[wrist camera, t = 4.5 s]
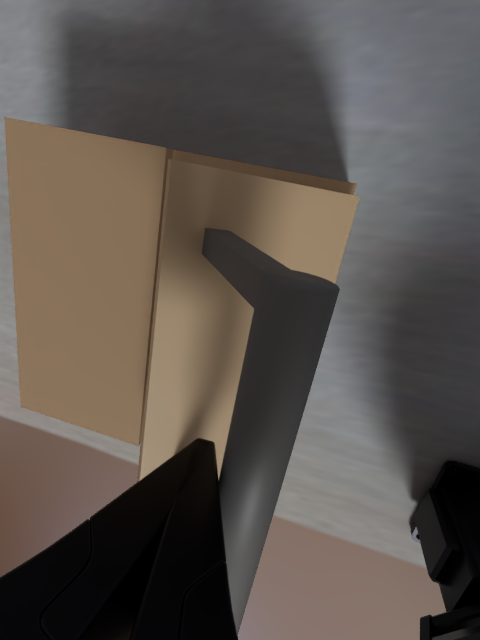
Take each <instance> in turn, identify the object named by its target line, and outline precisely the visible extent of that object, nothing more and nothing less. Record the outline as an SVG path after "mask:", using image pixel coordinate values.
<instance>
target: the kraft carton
mask: <svg viewBox="0 0 480 640" xmlns="http://www.w3.org/2000/svg"><path fill="white" fill-rule="evenodd" d="M5 135H6V152H7V170H8V188H9V205H10V223H11V241H12V258H13V276H14V294H15V311H16V329H17V347H18V364H19V382H20V400H21V407H23V408H26V409H29V410H32V411H35V412H38V413H41V414H44V415H47V416H50V417H53V418H56V419H59V420H62V421H65V422H68V423H71V424H74V425H77V426H80V427H83V428H86V429H89V430H92V431H95V432H98V433H101V434H104V435H107V436H110V437H113V438H116V439H119V440H122V441H125V442H128V443H131V444H134V445H137V446H139V445H140V443H141V436H142V426H143V415H144V405H145V395H146V384H147V374H148V364H149V353H150V343H151V332H152V322H153V312H154V301H155V291H156V281H157V270H158V260H159V249H160V239H161V229H162V218H163V208H164V197H165V187H166V177H167V166H168V159H173V160H178V161H183V162H188V163H193V164H198V165H203V166H208V167H214V168H219V169H224V170H229V171H234V172H239V173H244V174H249V175H254V176H259V177H264V178H269V179H274V180H279V181H284V182H289V183H294V184H299V185H304V186H309V187H314V188H319V189H324V190H329V191H334V192H339V193H344V194H349V195H354V192H355V189H356V185H357V184H356V183H350V182H345V181H339V180H334V179H329V178H323V177H318V176H313V175H307V174H302V173H297V172H291V171H286V170H281V169H275V168H270V167H265V166H259V165H254V164H249V163H243V162H238V161H233V160H227V159H222V158H216V157H211V156H206V155H200V154H195V153H190V152H184V151H179V150H174V149H170V148H167V147H161V146H156V145H150V144H145V143H140V142H134V141H129V140H124V139H118V138H113V137H108V136H102V135H97V134H92V133H86V132H81V131H75V130H70V129H65V128H59V127H54V126H49V125H43V124H38V123H33V122H27V121H22V120H17V119H11V118H6V117H5Z"/></svg>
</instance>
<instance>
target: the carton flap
mask: <svg viewBox="0 0 480 640" xmlns="http://www.w3.org/2000/svg"><path fill="white" fill-rule="evenodd" d="M359 199H360V197H359V196H354V195H349V194H344V193H339V192H334V191H329V190H324V189H319V188H314V187H309V186H304V185H299V184H294V183H289V182H284V181H279V180H274V179H269V178H264V177H259V176H254V175H249V174H244V173H239V172H234V171H229V170H224V169H219V168H214V167H208V166H203V165H198V164H193V163H188V162H183V161H178V160H173V159H168V166H167V177H166V187H165V197H164V208H163V218H162V229H161V239H160V249H159V260H158V270H157V281H156V291H155V301H154V312H153V322H152V332H151V343H150V353H149V364H148V374H147V384H146V395H145V405H144V415H143V426H142V436H141V447H140V457H139V467H138V478H137V482H138V481H140V480H141V479H143V478H144V477H145V476H147V475H148V474H149V473H151V472H152V471H153V470H155V469H156V468H157V467H159V466H160V465H161V464H163V463H164V462H165V461H167V460H168V459H169V458H171V457H172V456H174V455H175V454H176V453H178V452H179V451H180V450H182V449H183V448H184V447H186V446H187V445H188V444H190V443H191V442H192V441H194V440H195V439H197V438H202V439H206V440H210V441H213V442H214V443H215V449H216V459H217V469H218V480H219V490H220V500H221V510H222V520H223V531H224V541H225V551H226V564H227V570H228V580H229V588H230V595H231V603H232V610H233V615H234V621H235V626H236V631H237V635H238V632H239V629H240V625H241V622H242V618H243V615H244V612H245V608H246V605H247V601H248V598H249V595H250V591H251V588H252V585H253V581H254V578H255V574H256V571H257V568H258V564H259V561H260V557H261V554H262V551H263V547H264V544H265V540H266V537H267V534H268V530H269V527H270V524H271V520H272V517H273V513H274V510H275V507H276V503H277V500H278V497H279V493H280V490H281V486H282V483H283V480H284V476H285V473H286V469H287V466H288V463H289V459H290V456H291V453H292V449H293V446H294V442H295V439H296V436H297V432H298V429H299V425H300V422H301V419H302V415H303V412H304V409H305V405H306V402H307V398H308V395H309V392H310V388H311V385H312V381H313V378H314V375H315V371H316V368H317V364H318V361H319V358H320V354H321V351H322V348H323V344H324V341H325V337H326V334H327V331H328V327H329V324H330V320H331V317H332V314H333V310H334V307H335V304H336V300H337V297H338V293H339V290H340V289H339V287H338V286H337V285H336V284H335V282H336V279H337V275H338V272H339V268H340V265H341V261H342V258H343V254H344V251H345V247H346V244H347V241H348V237H349V234H350V230H351V227H352V223H353V220H354V216H355V213H356V209H357V206H358V202H359Z"/></svg>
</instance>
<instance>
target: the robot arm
mask: <svg viewBox="0 0 480 640" xmlns="http://www.w3.org/2000/svg"><path fill="white" fill-rule="evenodd" d="M451 469H456V470H455V471H450V470H451ZM414 519H415V522H414V524H413V526H412V528H411V535H412V538H413V540H414V541H416V542H419V543H421V547H422V551H423V555H424V558H425V562H426V566H427V570H428V574H429V576H430V578H431V580H432V581H434V582H436V583H439V586H440V590H441V594H442V597H443V601H444V604H445V608H446V612H445V613H442V614H438V615H435V616H431V615H427V616H424V617H421V618H420V640H480V469H479V468H476V467H472V466H469V465H466V464H462V463H459V462H455V461H448V462H446V463H445V464H444V465H443V467H442V469H441V471H440V473H439V475H438V477H437V478H436V480H435V482H434V484H433V486H432V488H430V489H428V490H427V492H426V494H425V496H424V498H423V500H422V502H421V504H420V506H419V508H418V510H417V512H416V514H415V516H414ZM0 640H238V636H237V631H236V626H235V621H234V615H233V610H232V603H231V595H230V588H229V580H228V570H227V564H226V551H225V541H224V531H223V520H222V510H221V500H220V490H219V480H218V469H217V459H216V449H215V443H214V442H213V441H210V440H206V439H202V438H197V439H195V440H194V441H192V442H191V443H190V444H188V445H187V446H186V447H184V448H183V449H182V450H180V451H179V452H178V453H176V454H175V455H174V456H172V457H171V458H169V459H168V460H167V461H165V462H164V463H163V464H161V465H160V466H159V467H157V468H156V469H155V470H153V471H152V472H151V473H149V474H148V475H147V476H145V477H144V478H143V479H141V480H140V481H138V482H137V483H136V484H134V485H133V486H132V487H130V488H129V489H128V490H126V491H125V492H124V493H122V494H121V495H120V496H118V497H117V498H116V499H114V500H113V501H112V502H111V503H109V504H107V505H106V506H105V507H103V508H102V509H101V510H99V511H98V512H97V513H95V514H94V515H93V516H91V517H90V520H89V519H87V520H86V521H84V522H83V523H82V524H80V525H79V526H78V527H76V528H75V529H74V530H72V531H71V532H69V533H68V534H66V535H65V536H64V537H62V538H61V539H59V540H58V541H56V542H55V543H54V544H52V545H51V546H49V547H48V548H46V549H45V550H43V551H42V552H40V553H39V554H37V555H35V556H34V557H32V558H31V559H29V560H28V561H26V562H25V563H23V564H21V565H20V566H18V567H16V568H15V569H13V570H12V571H10V572H8V573H7V574H5V575H3V576H2V577H0Z"/></svg>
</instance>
